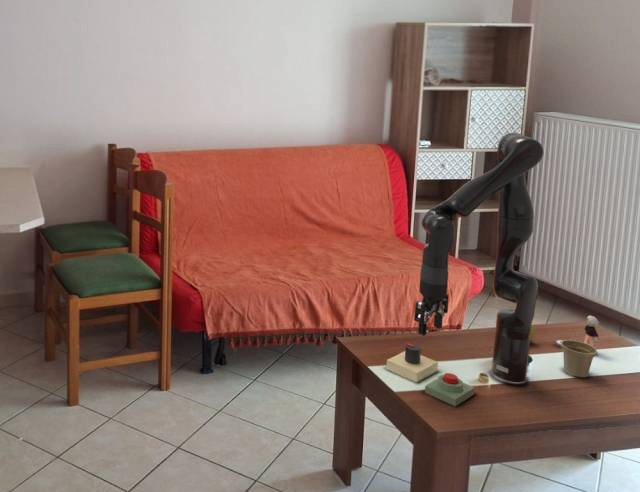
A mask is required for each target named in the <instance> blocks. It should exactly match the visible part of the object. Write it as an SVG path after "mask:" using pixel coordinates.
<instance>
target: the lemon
mask: <svg viewBox="0 0 640 492" xmlns="http://www.w3.org/2000/svg"><path fill="white" fill-rule="evenodd" d="M534 337H535V328H534V325H533V324H532V326H531V335H530V342H531V341H532V340H533V339H534Z"/></svg>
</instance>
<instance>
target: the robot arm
mask: <svg viewBox="0 0 640 492" xmlns="http://www.w3.org/2000/svg"><path fill="white" fill-rule="evenodd" d="M496 153H497V154H496V155H497V165H496V166H495V167H493V168H492V169H490V170H489V171H487V172H485V173H483V174H481V175H478V176H476V177H475V178H474V177H473V178H472V179H470V180H468V181H467V182H466V183H464V184H463V185H461V187H459V189H457V190H456V191H455V192H454V193H453V194H452V195H451V196H449V197H448V198H447V199H446V200H444V201H442V202H440V203H438V204H437V205H435V206H433V207H432V208H431V209H429V210H428V211H427V212H425V214H424V215H423V217H422V219H421V227H422V228H423V230H424V231H425V232H426V233H428V234H429V239H428V243H425V245H424V246H423V249H422V260H421V267H420V274H419V288H418V289H419V290H418V291H419V293H420V294H421V296H422V300H421V301H419V300H416V301H415V309H414V317H413V320H414V321H415V322H418V328H417V329H418V330H417V333H418V335H421V336H425V337H426V336H427V330H428V322H429V319H430V318H432V317H434V318H433V327H434V328H436V329H442V328H443V318H444V316H445V314H448V311H449V294H448V284H449V260H450V259H449V258H450V251H451V249H452V245H453V242H454V238H455V234H456V233H455V232H456V229H455V224H454V222H453V221H455V220H456V219H458V218H463V219H464V218H467V217H468V216H469V215H472V213H473V212H474V211H475V210H476V209H477V208H479V207H480V206H481V205H482V204H483V203H484V202H485V201H487V200H488V199H489V198H490V197H492V196H493V195H494V194H496V193H497V192H498V208H497V209H498V211H497V247H496V256H495V257H496V258H495V266H494V271H493V280H492V281H493V282H492V283H493V284H492V288H493V292H494V294H495V296H496V297H498V298H500V299H502V300H505V301H508V302H511V303H513V304H515V308H505V309H500V310H498V311H497V313H496V319H495V330H494V331H495V332H494V340H493V341H494V344H493V352H492V353H493V354H492V363H491V370H490V374H491V376H492V377H493V379H495V380H497V381H499V382H501V383H503V384H507V385H511V386H524V385H526V384H527V381H528V379H527V375H528V366H529V357H530V356H529V355H530V345H531V341H530V335H531V326H532V325H533V320H534V318H535V311H536V305H537V300H538V299H537V298H538V294H539V293H538V292H539V284H538V280H537V278H536V277H534V276H533V275H529V274H527V273H523V272H520V271H517V270H514V262H515V261H514V260H515V257H516V255H517V254H518V252H519V250H520V249H521V248H522V247H523V246H524V245H525V244H526V243H527V242H528V241H529V239H531V237H532V235H533V233H534V226H535V225H534V222H535V220H534V219H535V211H534V205H533V201H532V199H531V194H530V192H529V190H528V186H527V182H526V173H527V172H528V171H530V170H532V169H533V168H534V167H536V166H537V165H538V164H539V163H540V162H541V161H542V159H543V157H544V147H543V145H542V144H541V142H540V141H538V140H536V139H534V138H532V137H529V136H527V135H525V134H521V133H518V132H509V133H506V134H504V135H503V136H502V137H501V138H500V140H499V142H498V143H497V149H496ZM433 314H434V316H433Z"/></svg>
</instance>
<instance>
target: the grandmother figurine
mask: <svg viewBox="0 0 640 492" xmlns="http://www.w3.org/2000/svg"><path fill="white" fill-rule="evenodd" d="M586 319H587V320H586V325H585V327H584V330H583V334H585V337H584V342H583V343H586V344H589V345H591V346H593V347H594V348H595V343H599V341H600V340H599V337H600V335H599V334H598V331H597V329H596V326H597V325H599V324H600V322H599V320H598V318H597V317H595V316H593V315H588V316H587V317H586Z"/></svg>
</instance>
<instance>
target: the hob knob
mask: <svg viewBox="0 0 640 492" xmlns="http://www.w3.org/2000/svg"><path fill="white" fill-rule="evenodd" d="M404 351H405V361H406V362H408V363H411V364H419V363H420V357H421V355H422V347H421V346H420V345H418V344H415V343H408V342H407V343H406V344H405V350H404Z"/></svg>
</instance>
